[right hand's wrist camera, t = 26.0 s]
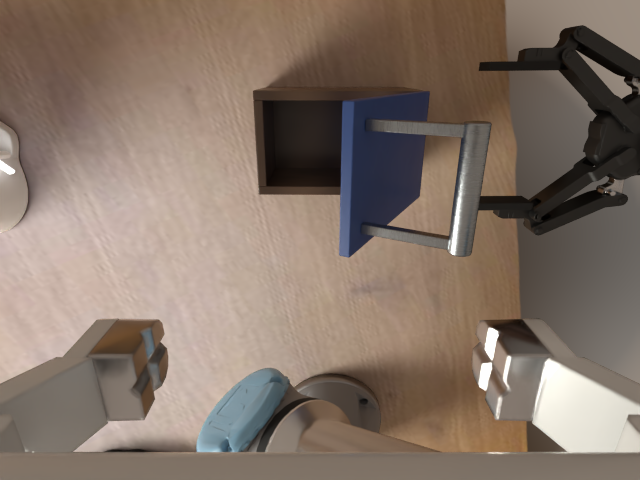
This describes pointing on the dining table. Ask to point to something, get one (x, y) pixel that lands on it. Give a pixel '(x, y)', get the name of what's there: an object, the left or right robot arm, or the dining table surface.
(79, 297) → the dining table surface
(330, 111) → the chest
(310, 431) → the left robot arm
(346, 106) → the lid
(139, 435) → the dining table surface
